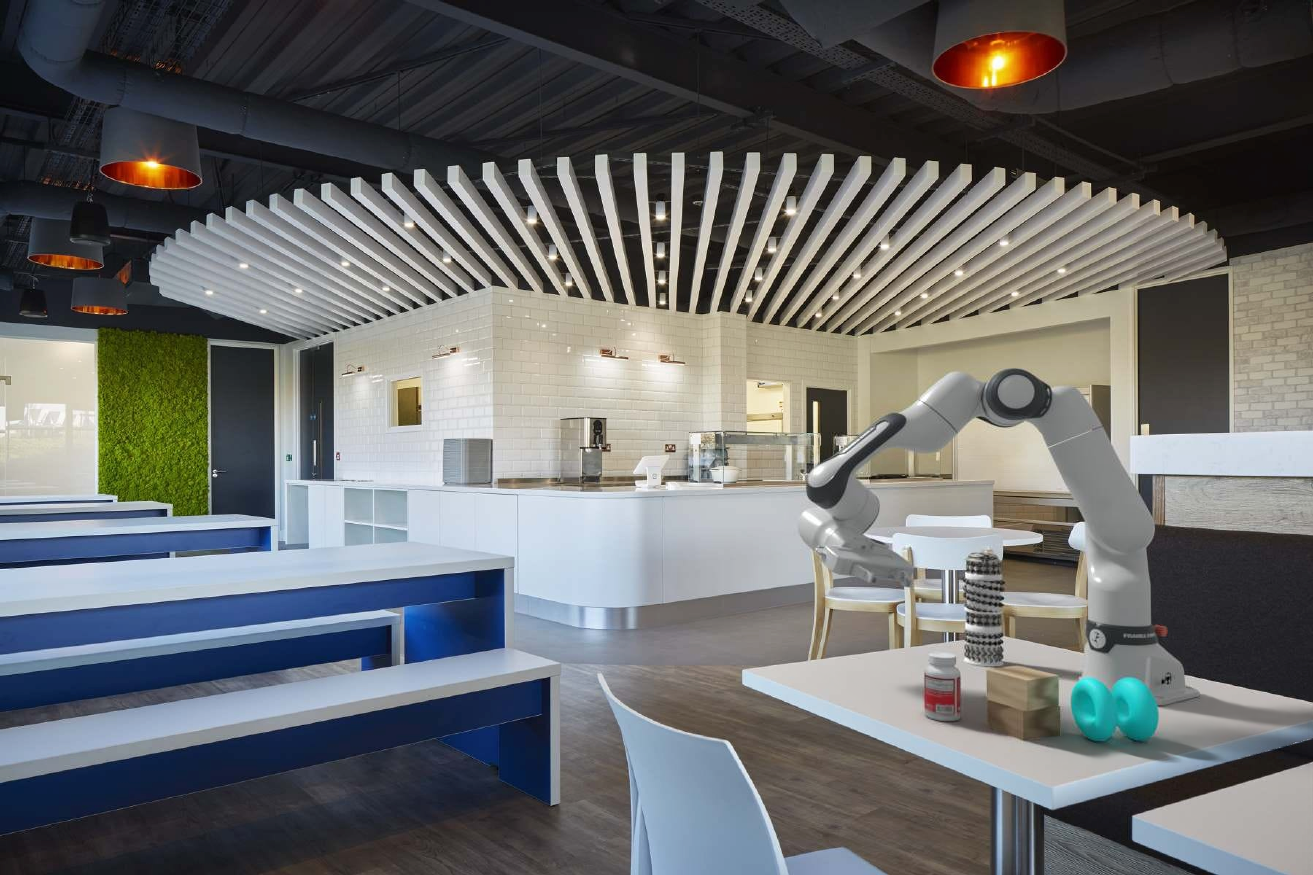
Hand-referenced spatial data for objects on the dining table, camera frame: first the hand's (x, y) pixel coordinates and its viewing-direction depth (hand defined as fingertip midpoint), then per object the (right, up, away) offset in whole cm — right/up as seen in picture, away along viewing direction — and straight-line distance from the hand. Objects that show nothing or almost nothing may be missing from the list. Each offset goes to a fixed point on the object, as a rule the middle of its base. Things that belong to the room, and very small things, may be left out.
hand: (891, 581), depth 162 cm
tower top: (+16, -17, -21) cm, 31 cm away
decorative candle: (+29, -24, +29) cm, 48 cm away
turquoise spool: (+30, -22, -25) cm, 44 cm away
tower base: (+16, -22, -21) cm, 35 cm away
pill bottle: (+5, -22, -14) cm, 26 cm away
